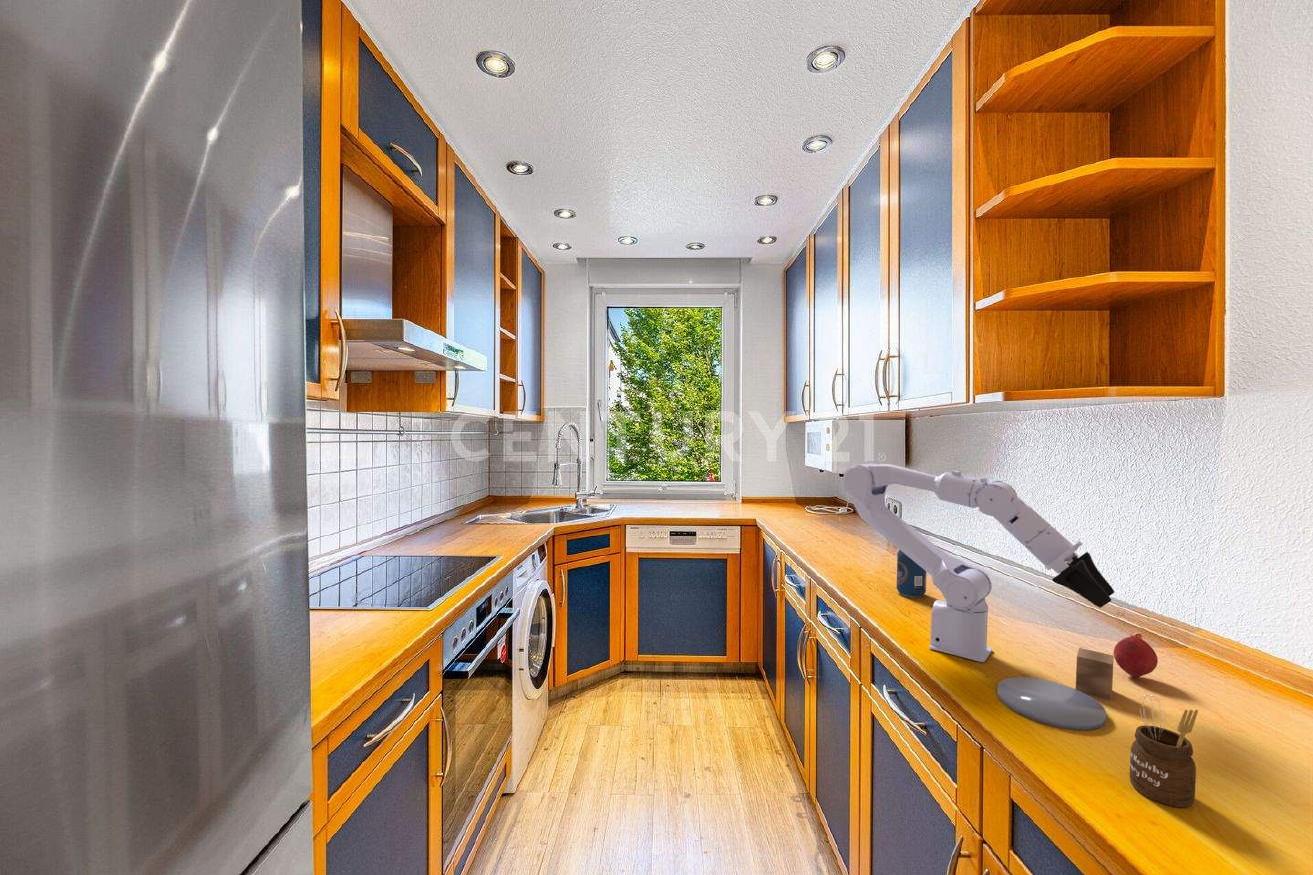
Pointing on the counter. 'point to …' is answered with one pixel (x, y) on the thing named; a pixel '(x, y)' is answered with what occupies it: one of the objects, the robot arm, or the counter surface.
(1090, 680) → the walnut stool block
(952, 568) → the robot arm
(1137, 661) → the onion
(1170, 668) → the counter surface
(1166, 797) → the utensil holder
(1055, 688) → the plate
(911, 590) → the soda can
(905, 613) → the counter surface
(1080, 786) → the counter surface
